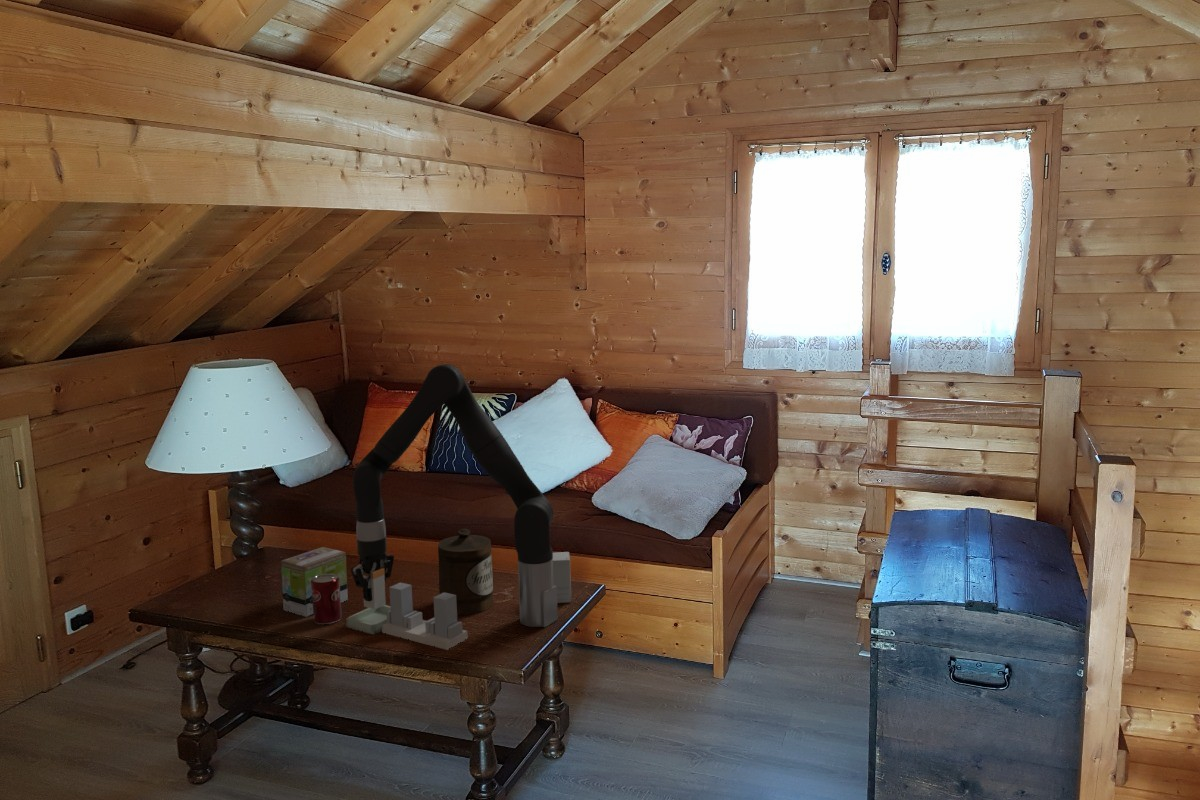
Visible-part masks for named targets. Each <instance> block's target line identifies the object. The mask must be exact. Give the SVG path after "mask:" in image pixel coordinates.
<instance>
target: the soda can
mask: <svg viewBox="0 0 1200 800" xmlns="http://www.w3.org/2000/svg"><path fill="white" fill-rule="evenodd" d="M311 589H312V603H313V614H312V616H313V621H314V622H315V624H317V625H320V624H329V625H333V624H335V622H336V623H338V622H339V621H340V620H341V619H342V617H343V616H342V603H341V598H340V583H339V577H338V576H337V575H335V574H321V575H317V576H315V577H313V579H312V580H311ZM337 621H338V622H337ZM332 623H333V624H332Z"/></svg>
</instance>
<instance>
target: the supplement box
mask: <svg viewBox="0 0 1200 800" xmlns="http://www.w3.org/2000/svg"><path fill="white" fill-rule="evenodd" d="M570 556H571V555H570V552H569V551H563V552H562V551H560V552H559V551H558V552H553V585H555V586H557V604H561V603H562V604H563V603H564V604H566V603H571V602H572V583H571V581H572V579H571V577H572V576H571V558H570Z"/></svg>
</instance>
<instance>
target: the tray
mask: <svg viewBox="0 0 1200 800" xmlns="http://www.w3.org/2000/svg"><path fill="white" fill-rule="evenodd" d="M390 610H391V607H390V605H387V604H386V605H383V606H381V607H379V608H377V609H371V608H368V607H366V608H365V609H362V610H361V611H359V612H357V613H354V614H352V615H350V616H348V617H346V618H345V627H346V628H347V627H348V628H349V629H351V628H352V630H355V631H358V630H359V632H362V631H363V633H366V634H369V635H376V634H379V633H380V632H382V625H384V624H386V623H387V615H386V612H388V611H390Z"/></svg>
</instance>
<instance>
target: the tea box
mask: <svg viewBox="0 0 1200 800" xmlns="http://www.w3.org/2000/svg"><path fill="white" fill-rule="evenodd" d="M346 555H347V554H346V552H345V551H342V550H339V549H333V548H330V547H329V548H328V547H325V546H322V547H319V548H315V549H312V550H309V551H306V552H303V553H301V554H297V555H295V556H291V557H288V558H284V559H282V560H281V561H280V562H281V563H280V565H281V566H280V567H281V582H282V583H281V584H282V603H283V607H282V608H283V611H285V612H288V611H289V613H291V612H292V614H294V613H295V615H298V616H301V615H302V617H305V618H307V617H309V616H311V615H313V603H312V589H311V580H312V579H313V577H315V576H317V575H321V574H335V575H337V576H338V577H339V583H340V598H341V604H342V603H344V601H345V602H347V601H348V600H349V596H348V594H349V592H348V575H347V573H348V572H347V556H346ZM346 600H347V601H346Z"/></svg>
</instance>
